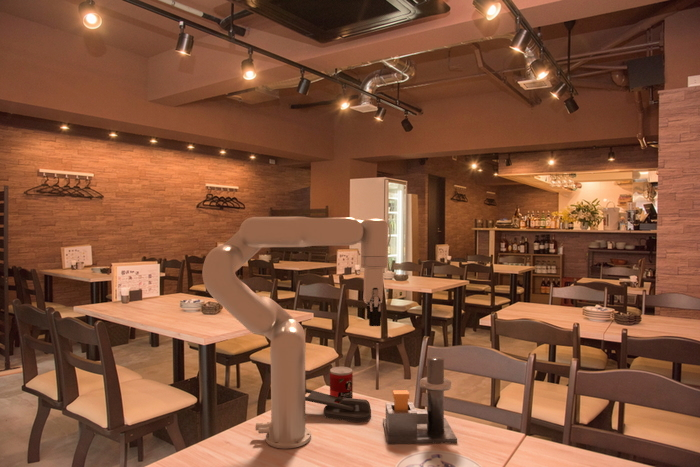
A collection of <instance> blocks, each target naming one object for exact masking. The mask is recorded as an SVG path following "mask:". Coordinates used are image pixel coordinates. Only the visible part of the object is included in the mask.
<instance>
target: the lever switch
mask: <svg viewBox="0 0 700 467" xmlns="http://www.w3.org/2000/svg"><path fill="white" fill-rule="evenodd" d="M419 386H420V388H421V389H423V390H425V391H426V408H425V409H424V408H423V409H416V408H415V405H414V403H413V401H412V402H410V401H408V410H394V402H385V418H382V424H383V428H384V432H385V438H386V442H387V445H403V444H404V445H412V444H413V445H416V444H418V445H420V444H424V445H425V444H458V437H457V436H456V434H455V433H454V431H453V429H452V427H451V425H450V424H449V422H448V421H447V419H446V418H447V417H445V414H444V413H445V392H446V391H449V390H451V389H452V381H451V380H450V379H448V378H446V377H445V359H444V358H443V357H441V356H429V357H427V358H426V376H425V377H421V378H420V380H419Z"/></svg>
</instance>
